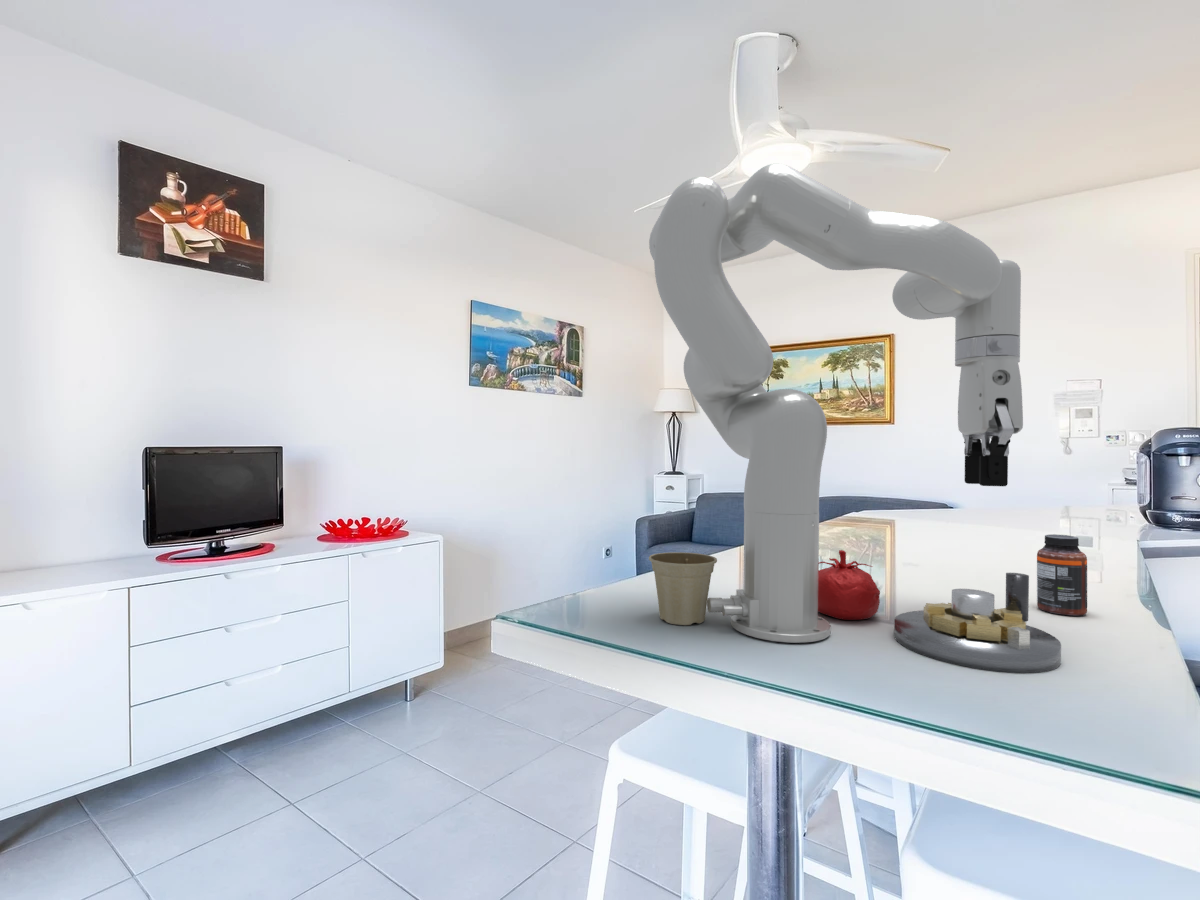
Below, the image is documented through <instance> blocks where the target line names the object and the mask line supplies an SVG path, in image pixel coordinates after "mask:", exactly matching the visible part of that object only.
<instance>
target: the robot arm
mask: <svg viewBox="0 0 1200 900" xmlns="http://www.w3.org/2000/svg"><path fill="white" fill-rule="evenodd" d="M774 241H776V242H778V243H779V244H781V245H783V246H786V247H788V248H789V249H791V250H793V251H795V252H796V253H798V254H800V255H803V256H804V257H807V258H809V259H810V260H812V261H814V262H816V263H818V264H819V265H821V266H823V267H825V268H826V269H829V270H833V271H834V270H835V271H862V270H871V269H891V270H898V271H903V272H905V273H904V274H903V275H902V276H900V278H899V279H898V280H897V281H896V283H895V284H894V287H893V289H892V297H891V298H892V302H893V305H894V307H895V309H896V310H897V311H898V312H899V313H900V314H902V315H903V316H905V317H906V318H909V319H913V320H919V321H921V320H923V321H925V320H932V319H933V320H934V319H943V318H951V317H952V318H954V319H955V325H954V326H955V333H954V335H955V337H954V339H955V340H954V344H955V345H954V347H955V349H954V365H955V366H954V367H959V368H960V374H959V383H958V385H959V386H958V397H957V399H958V400H957V426H958V427H957V428H958V432H959V433H961V435H962V438H963V439H964V441H963V443H964V450H963V451H964V453H963V454H964V483H966V484H967V485H980V486H982V487H1007V486H1008V483H1009V482H1008V479H1009V477H1008V476H1009V475H1008V474H1009V455H1010V447H1009V445H1010V442H1011V438H1012V437H1013V435H1015V434H1018V433H1019V432H1021V431H1022V430H1023V427H1024V413H1023V412H1024V410H1023V389H1022V378H1021V377H1022V376H1021V371H1020V366H1019V363H1020V361H1021V302H1022V301H1021V300H1022V299H1021V297H1022V295H1021V293H1022V292H1021V291H1022V290H1021V287H1022V286H1021V285H1022V283H1021V282H1022V275H1021V273H1022V272H1021V268H1020V265H1019V264H1018V263H1017V262H1015V261H1013V260H1009V259H999V257H998V255H997V254H996V253H995V252H994V250H993V249H992V248H991V247H990V246H988V245H987V244H986V243H985V242H983V241H982V240H980V239H979V238H977V237H975V236H974V235H972V234H970V233H968V232H967V231H966V230H963V229H961V228H960V227H958V226H957V225H956V226H955V225H953V224H951V223H949V222H947V221H944V220H941V219H937V218H934V217H931V216H925V215H918V214H917V215H916V214H912V213H911V214H910V213H904V212H903V213H902V212H896V211H895V212H894V211H887V210H886V211H885V210H874V209H870V208H868V207H866V206H863V205H862V204H859V203H857V202H855V200H854V201H853V200H852V199H850V198H849V197H847V196H845V195H843V194H841V193H839V192H838V191H836V190H833V189H832V188H830V187H828V186H826V185H825V184H823V183H821V182H819V181H818V180H816V179H814V178H812V177H811V176H808V175H807V174H805V173H802V171H799V170H798V169H795V168H793V167H792V166H790V165H787V164H783V163H770V164H767V165H765V166H762V167H761V168H760V169H758V170H757V171H755V172H754V173H753V174H752V175H751V176H750V177H749V178H748V179H747V180H746V181H745V182H744V183H743V185H742V186H741V187H740V189H739V190H738V191H736V193H735V195H734V196H732V197H731V198H727V196H726V193H725V192H724V189H722V187H721V186H720V184H719V183H717V182H716V181H715V180H713V179H711V178H708V177H706V176H695V177H692V178H689V179H687V180H685V181H683V182H682V183H681V184H679V185H678V186H677V187H676V188H675V189H674V190H673V192H672V193H671V195H670V196H669V197H668V198H667V201H666V202H665V205H664V206H663V208H662V210H661V212H660V214H659V216H658V218H657V219H656V221H655V223H654V225H653V227H652V230H651V232H650V234H649V241H648V245H649V246H648V247H649V253H650V256H651V258H652V260H653V265H654V266H653V267H654V276H655V284H656V287H657V291H658V294H659V298H660V299H661V302H662V305H663V306H664V308H665V309H664V310H665V311H666V312H667V314H668V316H669V317H670V320H671V321H672V323H673V324H674V325H675V327H676V329H677V331H678V332H679V334H680V335H681V338H682V340H684V342H685V343H686V345H687V347H688V350H687V351H686V354H685V356H684V361H683V374H684V380H685V383H686V384H687V387H688V388H689V390H690V392H691V394H692V396H693V397H694V399H695V401H696V402H697V403H698V405H699V406H700V407H701V409H702V411H703V412H704V414H705V416H707V419H709V421H710V422H711V424H712V426H713V427H714V429H715V430H716V431H717V432H718V435H720V436H721V438H722V440H723V441H724V442H725V444H726V445H727V446H728V447H729V448H730V449H731V450H732V452H734V453H735V454H737V455H738V456H740V457H742V458H744V459H747V460H748V463H747V469H746V474H745V480H744V487H743V488H744V489H743V576H742V577H743V587H742V589H740V588H739V589H735V591H736V592H735V593H736V595H733V594H732V595H730V596H729V598H728V597H727V598H722V597H708V599H707V606H706V609H707V612H708V613H710V614H711V613H712V614H713V613H722V616H725V617H727V616H729V617H730V624H731V626H732V628H733V629H734V630H735V631H737V632H740V633H741V634H744V635H747V636H748V637H753V638H755V639H760V640H764V641H771V642H778V643H792V644H793V643H795V644H798V643H799V644H803V643H814V642H819V641H820V642H821V641H822V640H825V639H826V638H829V636H830V635H831V633H832V632H831V629H832V628H831V624H830V623H831V622H829V621H828V620H827V619H825V618H823V617H822V616H819V612H818V573H819V570H820V569H819V568H820V567H819V565H820V564H819V562H820V559H819V558H820V557H819V556H820V555H819V553H820V551H819V549H820V548H819V547H820V485H821V484H820V482H821V474H822V473H821V472H822V466H823V460H824V456H825V455H824V453H825V450H826V444H827V438H828V424H827V423H828V422H827V418H826V415H825V413H824V409H823V407H822V406H821V405H820V403H819V402H818V401H817V399H815V398H814V397H812V396H811V395H809V394H808V393H806V392H804V391H802V390H798V389H793V388H780V389H775V390H770V391H766V388H765V387H764V386H763V385H762V384H764V383H765V382H766V380H767V379H768V378H769V377H770V375H771V373H772V371H773V367H774V356H773V351H772V348H771V347H770V344H769V343H768V342H767V339H766V338H765V337H764V335H763V333H762V332H761V331H760V329H759V327H757V325H756V324H755V322H754V320H753V319H752V317H751V316H750V315H749V313H748V312H747V310H746V309H745V307H744V306H743V304H742V303H741V300H739V298H738V297H737V295H736V293H735V291H734V290H733V288H732V286H731V285H730V283H729V281H728V279H727V277H726V275H725V272H724V269H723V265H722V264H723V263H728V262H732V261H734V260H737V259H740V258H743V257H746V256H748V255H751V254H754V253H757V252H759V251H760V250H763V249H764V248H766V247H767V246H768V245H770V243H772V242H774Z"/></svg>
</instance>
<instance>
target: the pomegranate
mask: <svg viewBox="0 0 1200 900" xmlns="http://www.w3.org/2000/svg"><path fill="white" fill-rule="evenodd" d="M838 555H839V558H840V560H838V559H837V558H835V557H833V558H829V561H834V563H832V562H826V561H819V565H820V564H827V565H829V567H825V568H822V569H819V573H818V613H821V614H823V615H826V616H829V617H832V618H836V619H839V620H843V621H844V620H845V621H846V620H849V621H857V620H858V621H859V620H867V619H869V618H872V617H873V616H875V615H876V614H877V613H878V611H879V606H880V603H881V602H880V594H881V591H880V590H879V589H880V588H878V585H877V584H876V582H875V580H874V579H873V577H872V575H871V574H870V573H869V572H866V571H865V570H863V569H861V568H859V566H867V567H870V568H873V567H874V566H872V565H869V564H866V563H860V562H859V563H858V562H857V561H856V560H853V561H852V562H848V563H847V557H846V556H847V552H846V551H845V550H843V549H840V550H838Z"/></svg>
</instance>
